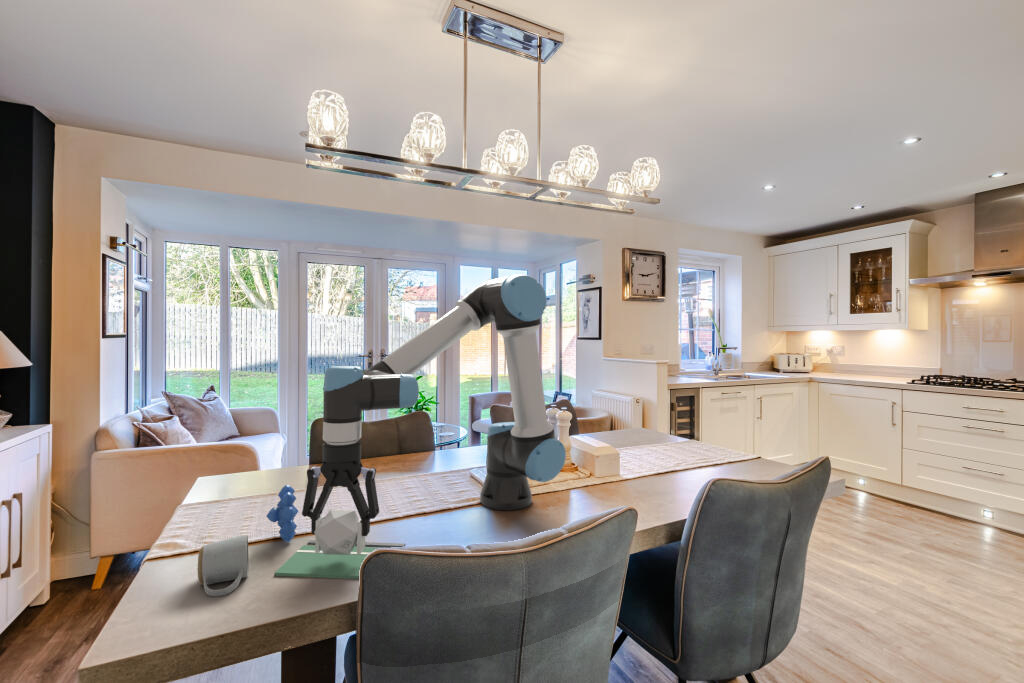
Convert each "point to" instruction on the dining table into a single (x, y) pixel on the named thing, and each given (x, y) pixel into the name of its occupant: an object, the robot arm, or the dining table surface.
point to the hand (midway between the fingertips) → (340, 549)
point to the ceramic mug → (223, 563)
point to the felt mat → (323, 564)
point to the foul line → (373, 544)
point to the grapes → (285, 513)
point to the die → (338, 532)
